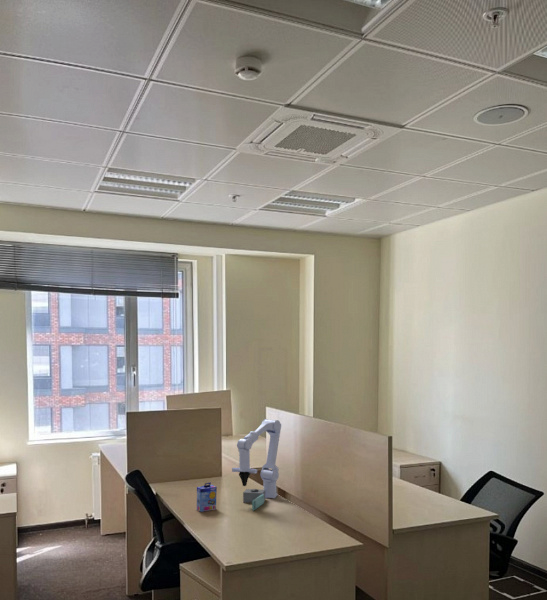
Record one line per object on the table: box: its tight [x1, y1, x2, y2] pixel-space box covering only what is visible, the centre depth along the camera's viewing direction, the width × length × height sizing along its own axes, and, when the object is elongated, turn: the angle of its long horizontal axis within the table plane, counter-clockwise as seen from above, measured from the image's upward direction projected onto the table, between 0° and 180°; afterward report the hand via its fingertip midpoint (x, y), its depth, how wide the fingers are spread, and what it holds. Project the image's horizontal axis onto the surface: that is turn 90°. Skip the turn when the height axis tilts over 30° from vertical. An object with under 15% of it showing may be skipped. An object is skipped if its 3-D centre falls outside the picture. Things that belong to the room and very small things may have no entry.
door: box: [251, 494, 265, 512], centre depth 320 cm, size 1×16×5 cm, turn 159°
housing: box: [242, 488, 266, 504], centre depth 333 cm, size 8×11×6 cm
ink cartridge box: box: [196, 482, 218, 513], centre depth 317 cm, size 10×6×14 cm, turn 122°
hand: (244, 485), depth 326 cm, fingers closed
